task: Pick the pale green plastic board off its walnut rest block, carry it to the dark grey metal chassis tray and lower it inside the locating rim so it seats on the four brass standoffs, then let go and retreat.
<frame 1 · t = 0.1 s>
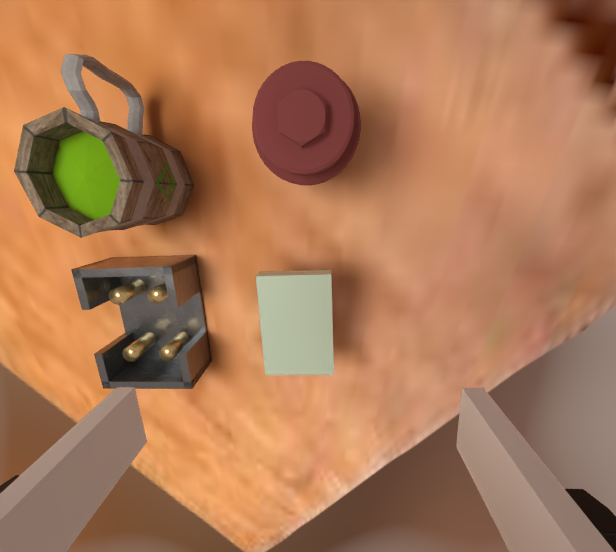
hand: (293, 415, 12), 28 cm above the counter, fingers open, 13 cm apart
chassis: (163, 311, 42), on the counter
mechanical component: (310, 142, 35), on the counter
board: (298, 320, 34), point 6 cm above the counter, touching rest block
mug: (151, 161, 37), on the counter
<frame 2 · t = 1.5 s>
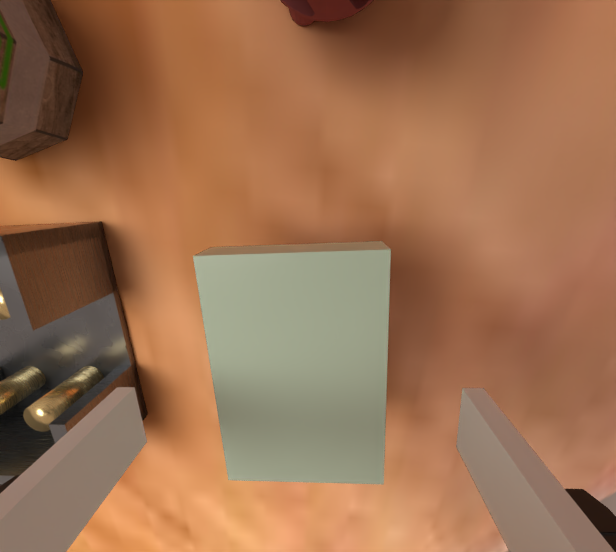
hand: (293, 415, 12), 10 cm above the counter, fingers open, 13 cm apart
chassis: (53, 328, 23), on the counter
board: (301, 357, 15), point 6 cm above the counter, touching rest block
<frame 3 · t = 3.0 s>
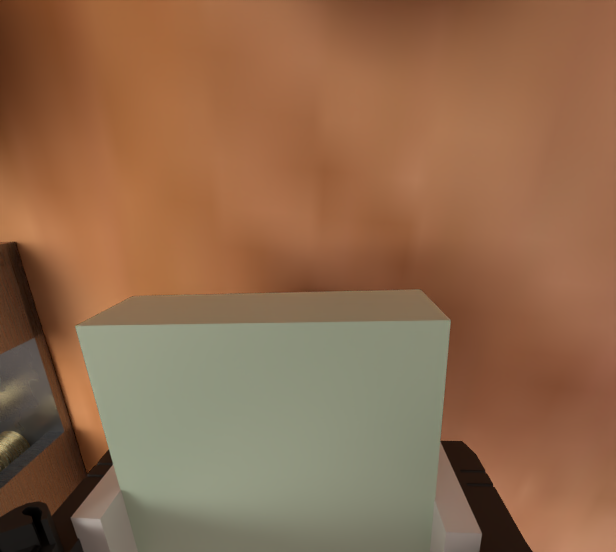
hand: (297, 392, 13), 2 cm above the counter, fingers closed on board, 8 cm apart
board: (285, 466, 10), point 6 cm above the counter, touching gripper, rest block
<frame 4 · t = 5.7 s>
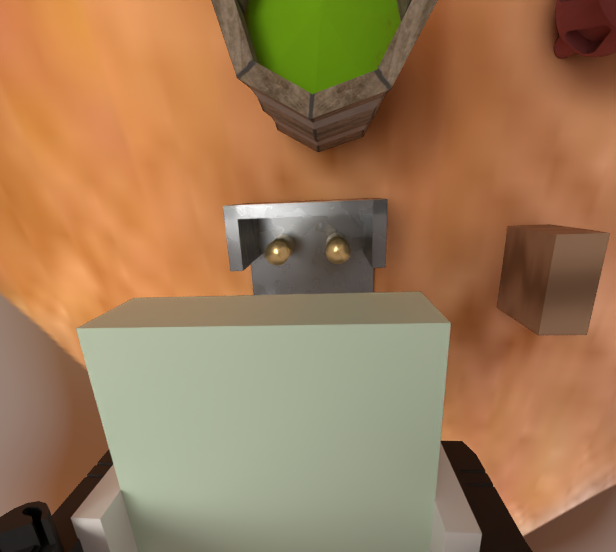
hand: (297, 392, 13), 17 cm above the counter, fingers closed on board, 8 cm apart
rest block: (522, 267, 28), on the counter
chassis: (312, 282, 30), on the counter
mechanical component: (586, 15, 23), on the counter
board: (286, 467, 10), point 21 cm above the counter, touching gripper
mug: (327, 51, 25), on the counter
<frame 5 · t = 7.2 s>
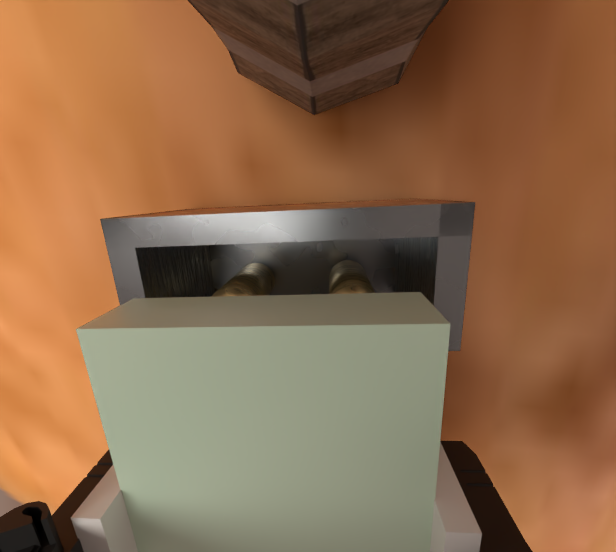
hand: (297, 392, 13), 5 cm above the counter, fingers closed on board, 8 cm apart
chassis: (305, 340, 18), on the counter
board: (285, 467, 10), point 8 cm above the counter, touching gripper
when the fingers open (2 cm above the counter, at t = 8.4 s): board stays where it is, resting on chassis.
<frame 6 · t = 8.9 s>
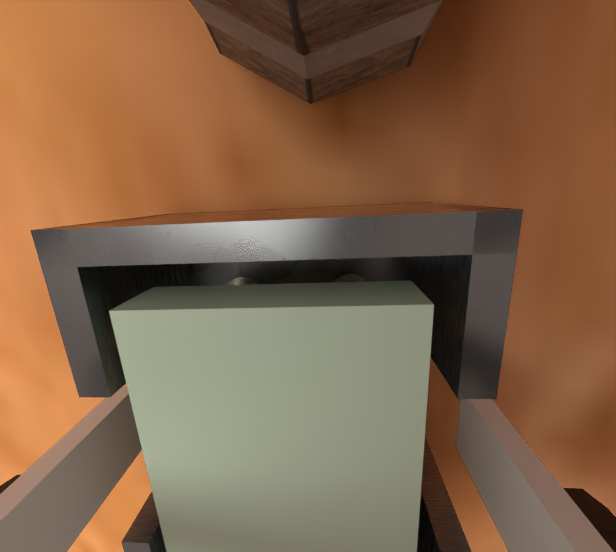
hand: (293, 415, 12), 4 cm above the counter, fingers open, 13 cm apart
chassis: (301, 364, 15), on the counter
board: (290, 442, 11), point 5 cm above the counter, touching chassis
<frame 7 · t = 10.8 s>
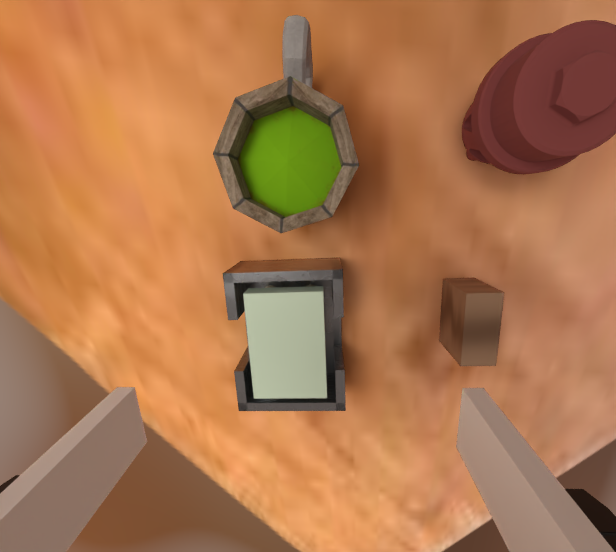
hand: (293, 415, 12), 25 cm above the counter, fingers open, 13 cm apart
rest block: (456, 310, 36), on the counter
chassis: (293, 321, 37), on the counter
mechanical component: (488, 131, 31), on the counter
board: (288, 339, 33), point 5 cm above the counter, touching chassis
mug: (301, 152, 33), on the counter
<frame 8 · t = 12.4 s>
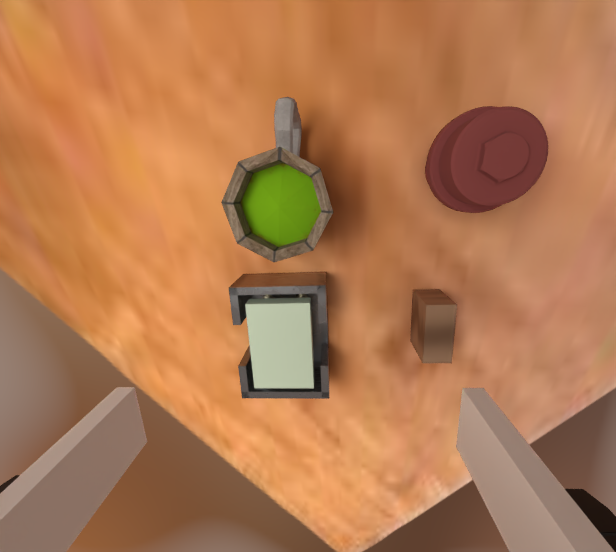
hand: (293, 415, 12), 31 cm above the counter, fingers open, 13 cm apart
rest block: (424, 315, 43), on the counter
chassis: (287, 324, 44), on the counter
mechanical component: (448, 168, 37), on the counter
board: (282, 340, 40), point 5 cm above the counter, touching chassis
mug: (293, 185, 39), on the counter
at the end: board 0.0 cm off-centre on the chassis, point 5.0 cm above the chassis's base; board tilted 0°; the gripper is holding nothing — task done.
